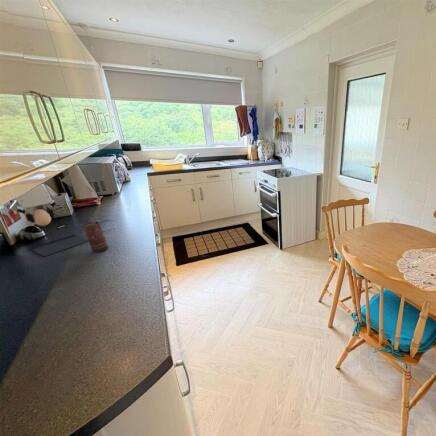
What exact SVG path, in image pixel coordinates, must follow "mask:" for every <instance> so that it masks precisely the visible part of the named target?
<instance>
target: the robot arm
mask: <svg viewBox="0 0 436 436" xmlns="http://www.w3.org/2000/svg"><path fill="white" fill-rule="evenodd" d="M58 202H59V198H57V197H55V196H52V195H50V193H49V191H48V190H47V187H46V186H45V183H43V184H41V185H39V186H37V187H35V188H34V189H32V190H30V191H28V192H27V193H25V194H23V195H21V196H19V197H17V198H15V199H14V201H13V203H12V204H11V205H10V207H9V210H11V211H14V212H18V213H20V214H24V216H25V218H26V220H27V222H29V223H32V224H35V223H34V222H35V221H34V219H33V217H32V214H33V213H30V210H31V209H30V208H33V207H34V208H35V207H39V206H43V205H44V206H45V208H46V209H45V211H46V212H47V213H49V215H50V217H51V219H53V218H55V212H54V208H55V206H56V205H57V203H58ZM18 207H20V208H22V209H20V208H18Z"/></svg>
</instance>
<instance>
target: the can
mask: <svg viewBox="0 0 436 436" xmlns="http://www.w3.org/2000/svg"><path fill="white" fill-rule="evenodd" d="M83 230H84V232H85V236H86V237H87V238H86V239H87V240H88V243H89V246H90V248H91V251H92V252H93V253H96V254H98V253H102V252H105V251H106V250H108V248H109V246H108V243H107V240H106V236H105V233H104V230H103V228H102V225H101V223H100V222H99V221H92V222H91V221H90V222H87V223H84V224H83Z"/></svg>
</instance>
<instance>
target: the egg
mask: <svg viewBox="0 0 436 436" xmlns="http://www.w3.org/2000/svg"><path fill="white" fill-rule="evenodd" d="M31 214H32V217H33V219H34V221H35V222H34V223H33V224H36V225H37V226H41V227H45V226H48V225H49V224H50V223H51V221H52V218H51V217H50V215H49V213H47V211H46V210H44V209H40V208H39V209H36V210H33V212H32V213H31Z"/></svg>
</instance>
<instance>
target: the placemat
mask: <svg viewBox="0 0 436 436" xmlns="http://www.w3.org/2000/svg"><path fill="white" fill-rule="evenodd" d="M86 243H89V241H88V238H85V237H82V236H80V235H79V236H78V235H76V234H71V235H69V236H65V237H63V238H62V237H61V238H60V239H56V240H53V241H49V242H47V243H44V244H40V245H37V246H34V247H31V248H28V250H29V251H31V252H34V253H35V254H38V255H40V256H42V257H45V258H46V257H49V256H52V255H54V254H57V253H59V252H63V251H65V250H68V249H71V248H73V247H77V246H79V245H83V244H86Z"/></svg>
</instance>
